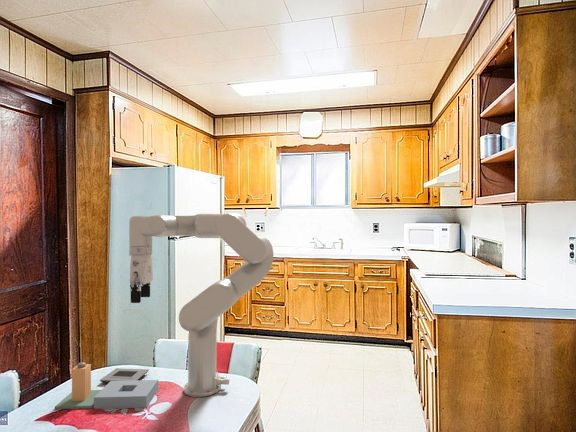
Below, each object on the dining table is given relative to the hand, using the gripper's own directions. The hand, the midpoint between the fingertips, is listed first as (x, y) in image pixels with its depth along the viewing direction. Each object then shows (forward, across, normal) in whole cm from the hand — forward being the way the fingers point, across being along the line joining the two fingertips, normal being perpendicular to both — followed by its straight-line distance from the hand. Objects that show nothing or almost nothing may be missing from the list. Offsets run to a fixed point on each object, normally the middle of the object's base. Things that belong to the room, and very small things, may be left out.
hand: (140, 299), depth 130 cm
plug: (+30, -9, +16) cm, 35 cm away
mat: (+30, -9, +16) cm, 35 cm away
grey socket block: (+30, -9, +1) cm, 32 cm away
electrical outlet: (+31, +7, +8) cm, 33 cm away
